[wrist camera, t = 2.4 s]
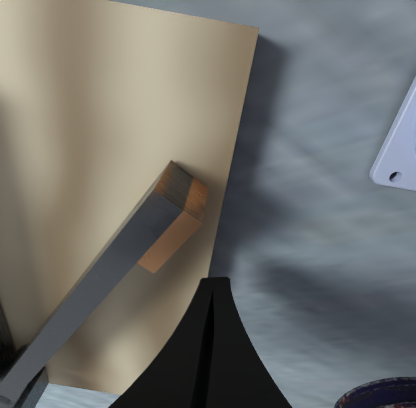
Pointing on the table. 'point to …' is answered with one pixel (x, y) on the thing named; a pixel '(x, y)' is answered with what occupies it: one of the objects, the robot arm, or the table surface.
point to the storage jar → (381, 394)
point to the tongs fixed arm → (3, 352)
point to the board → (108, 165)
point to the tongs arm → (114, 269)
